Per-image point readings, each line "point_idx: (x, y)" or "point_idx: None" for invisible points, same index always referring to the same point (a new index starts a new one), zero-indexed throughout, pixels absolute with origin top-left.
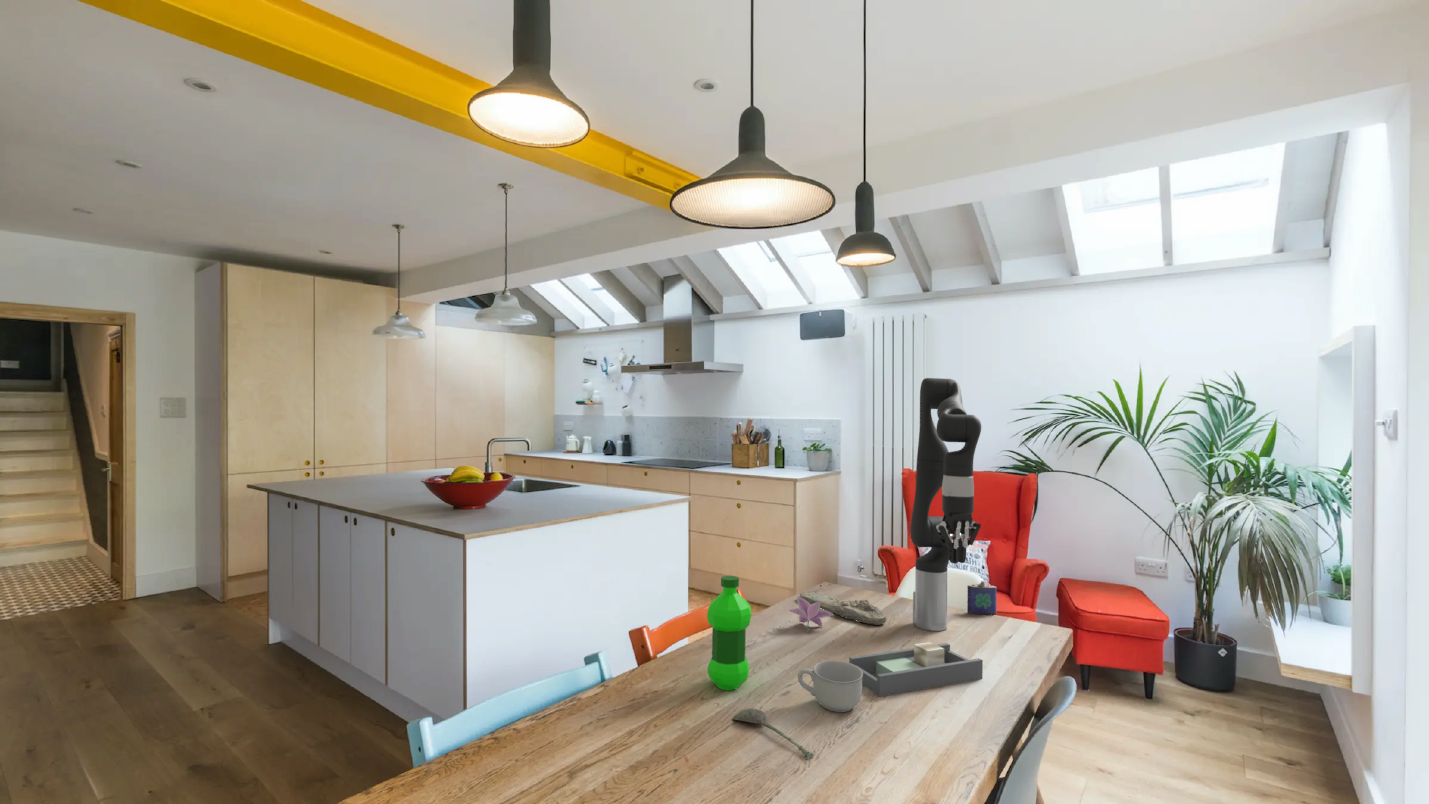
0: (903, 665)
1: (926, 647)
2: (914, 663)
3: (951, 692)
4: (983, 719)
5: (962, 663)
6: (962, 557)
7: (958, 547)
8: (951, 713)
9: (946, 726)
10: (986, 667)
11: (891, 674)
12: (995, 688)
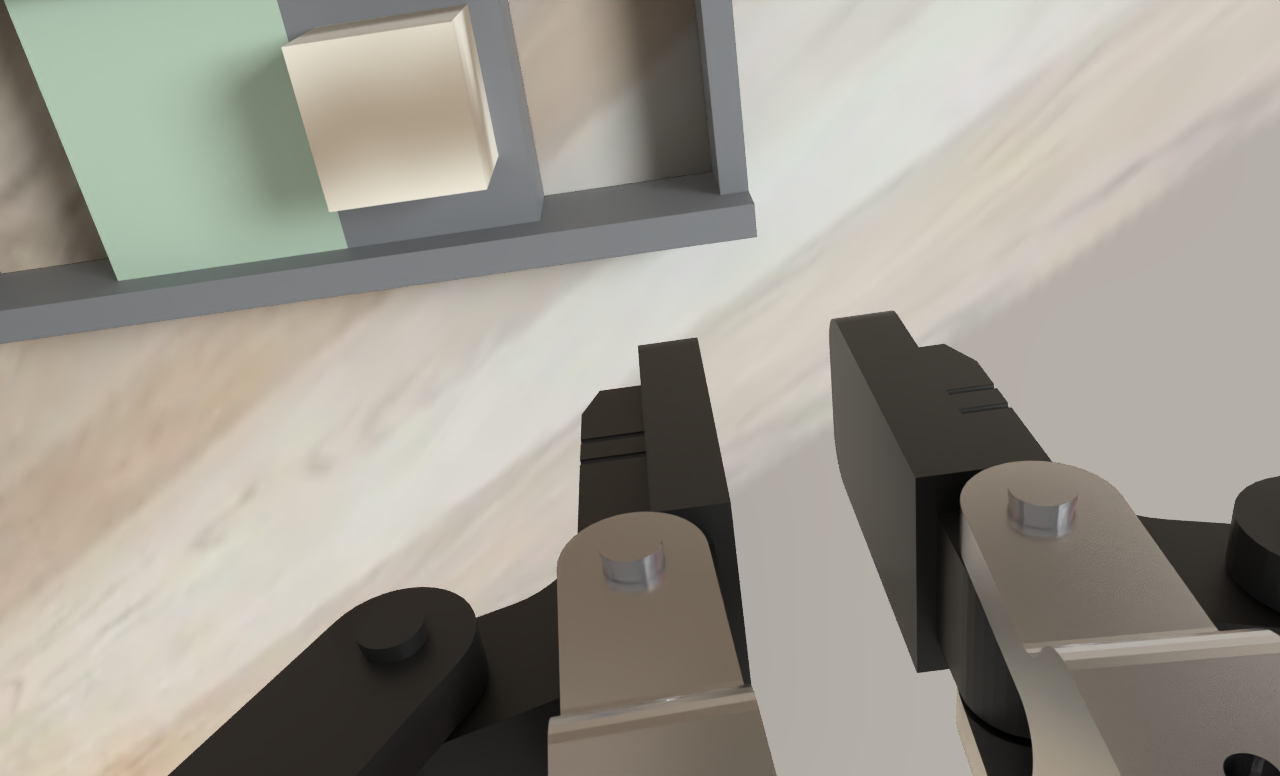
0: (196, 102)
1: (354, 138)
2: None
3: (436, 329)
4: None
5: (580, 260)
6: (863, 517)
7: (912, 538)
8: (312, 523)
9: (231, 612)
10: (906, 31)
11: (6, 340)
12: (719, 330)
